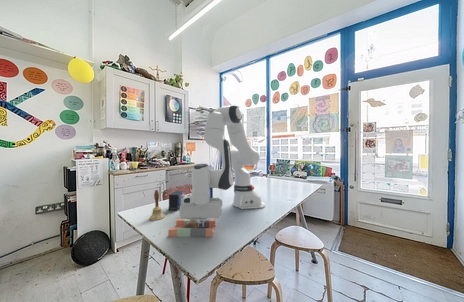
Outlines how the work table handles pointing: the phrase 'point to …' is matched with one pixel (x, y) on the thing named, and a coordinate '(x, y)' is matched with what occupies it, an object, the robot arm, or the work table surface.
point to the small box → (176, 200)
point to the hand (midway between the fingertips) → (201, 226)
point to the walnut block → (192, 224)
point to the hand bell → (156, 209)
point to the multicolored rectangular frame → (192, 229)
